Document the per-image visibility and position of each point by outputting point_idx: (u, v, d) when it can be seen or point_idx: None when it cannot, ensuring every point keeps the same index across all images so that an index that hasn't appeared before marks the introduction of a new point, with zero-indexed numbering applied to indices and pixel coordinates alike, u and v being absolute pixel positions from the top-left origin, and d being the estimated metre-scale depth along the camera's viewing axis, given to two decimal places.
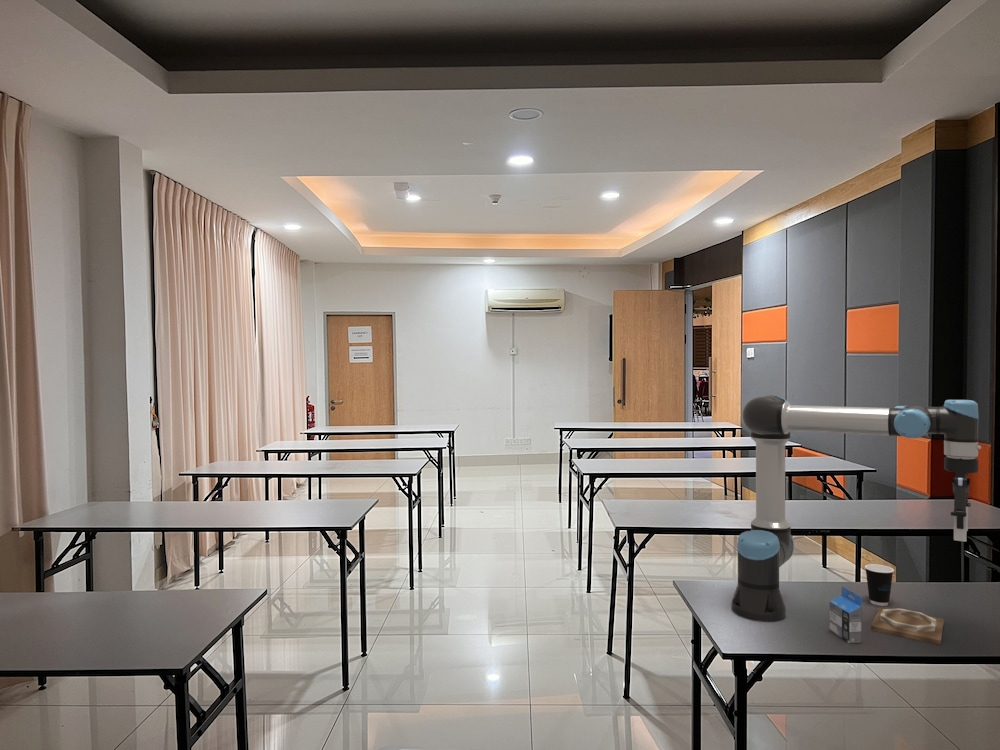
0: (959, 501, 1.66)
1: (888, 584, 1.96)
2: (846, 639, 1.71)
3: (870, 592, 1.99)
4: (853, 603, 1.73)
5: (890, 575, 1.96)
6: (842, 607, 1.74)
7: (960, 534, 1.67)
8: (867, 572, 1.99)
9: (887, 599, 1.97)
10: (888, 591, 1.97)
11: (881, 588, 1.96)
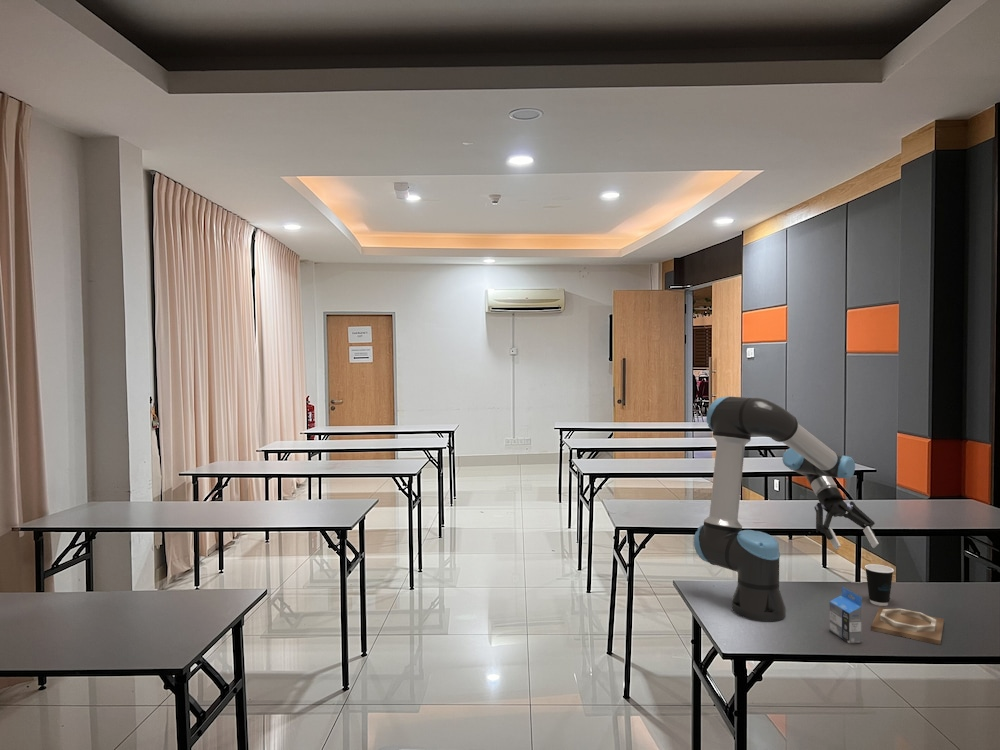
0: None
1: (888, 584, 1.96)
2: (846, 639, 1.71)
3: (870, 592, 1.99)
4: (853, 603, 1.73)
5: (890, 575, 1.96)
6: (842, 607, 1.74)
7: None
8: (867, 572, 1.99)
9: (887, 599, 1.97)
10: (888, 591, 1.97)
11: (881, 588, 1.96)
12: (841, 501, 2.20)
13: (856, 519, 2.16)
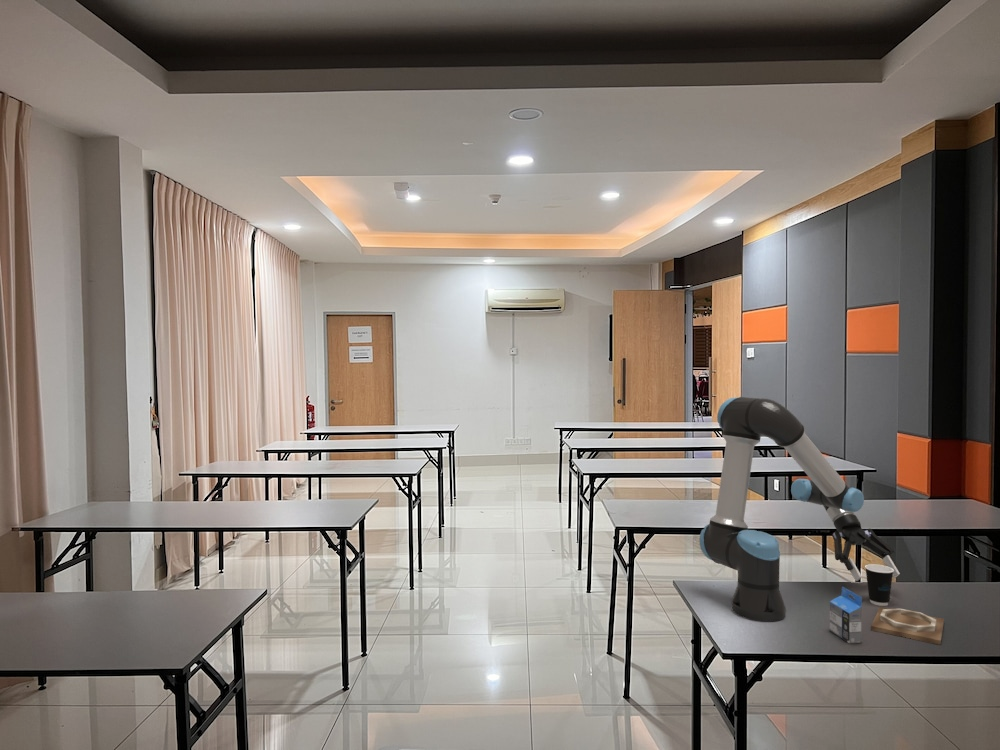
0: None
1: (888, 584, 1.96)
2: (846, 639, 1.71)
3: (870, 592, 1.99)
4: (853, 603, 1.73)
5: (890, 575, 1.96)
6: (842, 607, 1.74)
7: None
8: (867, 572, 1.99)
9: (887, 599, 1.97)
10: (888, 591, 1.97)
11: (881, 588, 1.96)
12: (859, 528, 2.13)
13: (875, 548, 2.09)
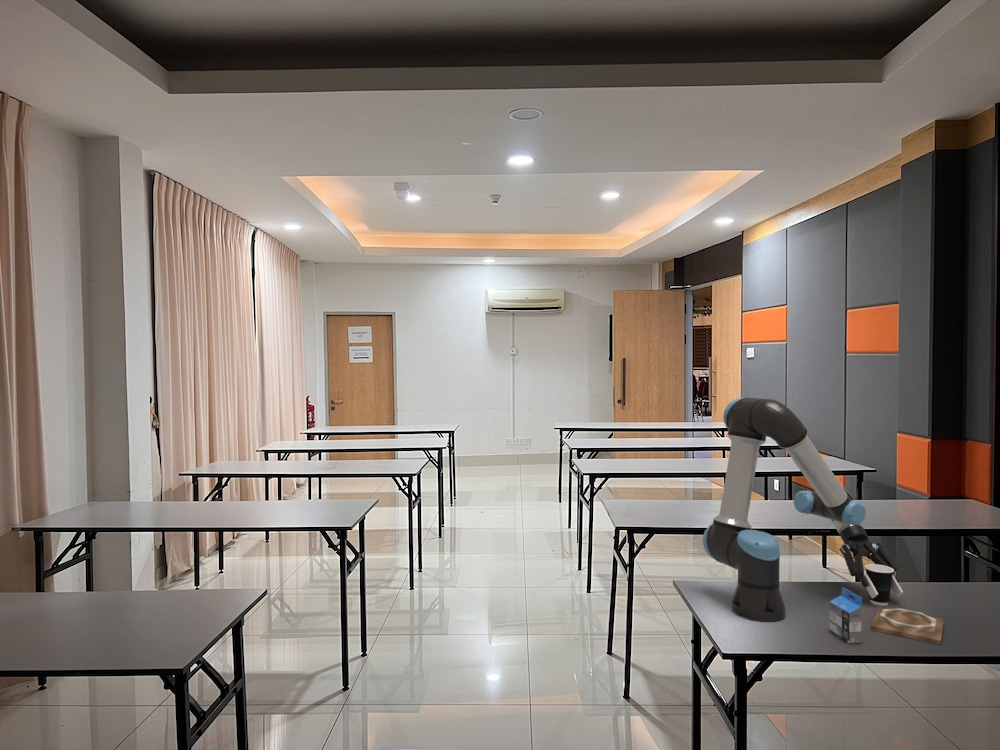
0: None
1: (888, 584, 1.96)
2: (846, 639, 1.71)
3: None
4: (853, 603, 1.73)
5: (890, 575, 1.96)
6: (842, 607, 1.74)
7: None
8: (867, 572, 1.99)
9: (887, 599, 1.97)
10: (888, 591, 1.97)
11: (881, 588, 1.96)
12: (867, 540, 2.08)
13: (879, 562, 2.03)
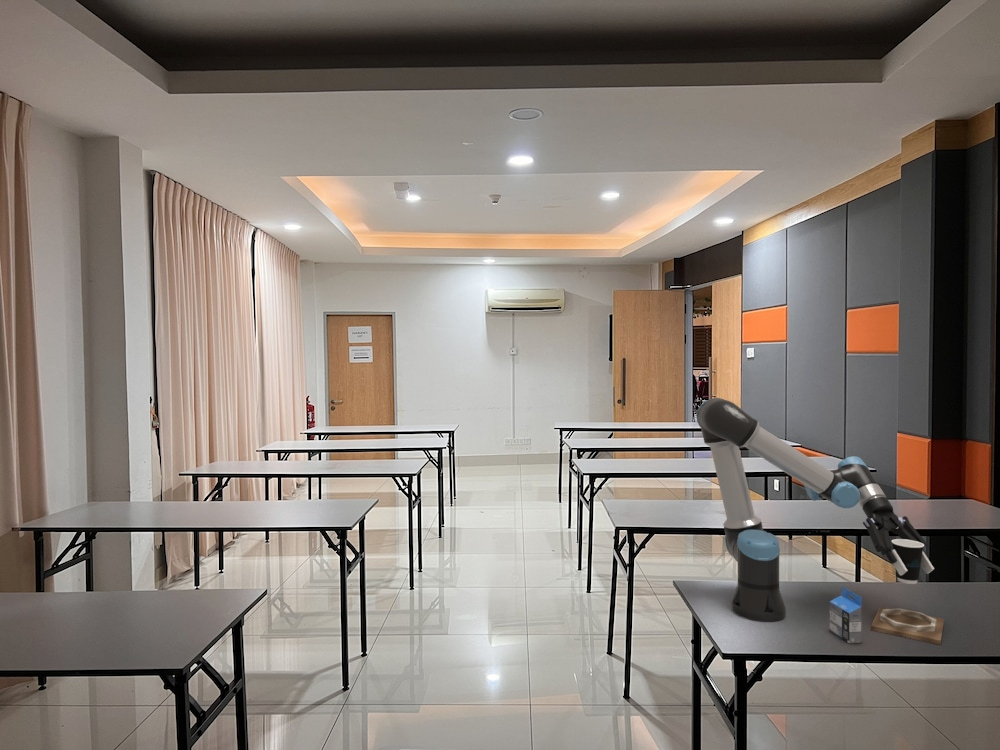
0: None
1: (918, 560, 1.79)
2: (846, 639, 1.71)
3: None
4: (853, 603, 1.73)
5: (920, 550, 1.78)
6: (842, 607, 1.74)
7: None
8: (894, 547, 1.82)
9: (917, 576, 1.79)
10: (918, 568, 1.79)
11: (910, 564, 1.79)
12: (892, 513, 1.91)
13: (907, 537, 1.86)
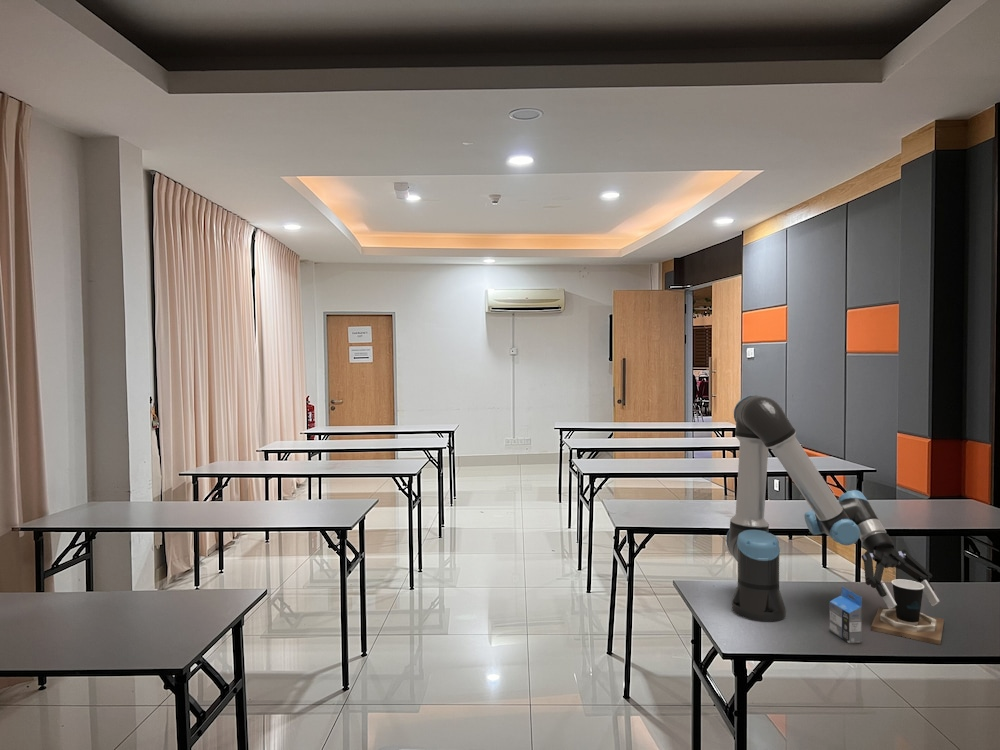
0: None
1: (918, 602, 1.78)
2: (846, 639, 1.71)
3: (898, 610, 1.81)
4: (853, 603, 1.73)
5: (920, 592, 1.78)
6: (842, 607, 1.74)
7: None
8: (894, 588, 1.81)
9: (917, 618, 1.79)
10: (918, 609, 1.78)
11: (910, 606, 1.78)
12: (892, 549, 1.90)
13: (911, 571, 1.86)
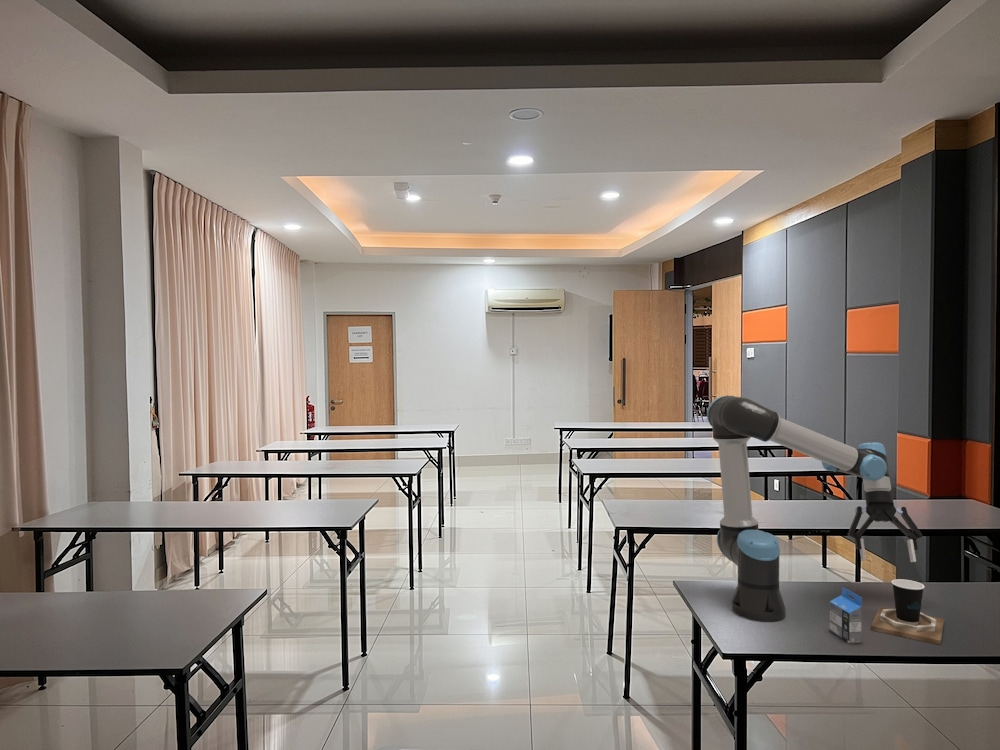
0: None
1: (918, 602, 1.78)
2: (846, 639, 1.71)
3: (898, 610, 1.81)
4: (853, 603, 1.73)
5: (920, 592, 1.78)
6: (842, 607, 1.74)
7: None
8: (895, 588, 1.81)
9: (917, 618, 1.79)
10: (918, 609, 1.78)
11: (910, 606, 1.78)
12: (890, 506, 2.00)
13: (901, 528, 1.97)
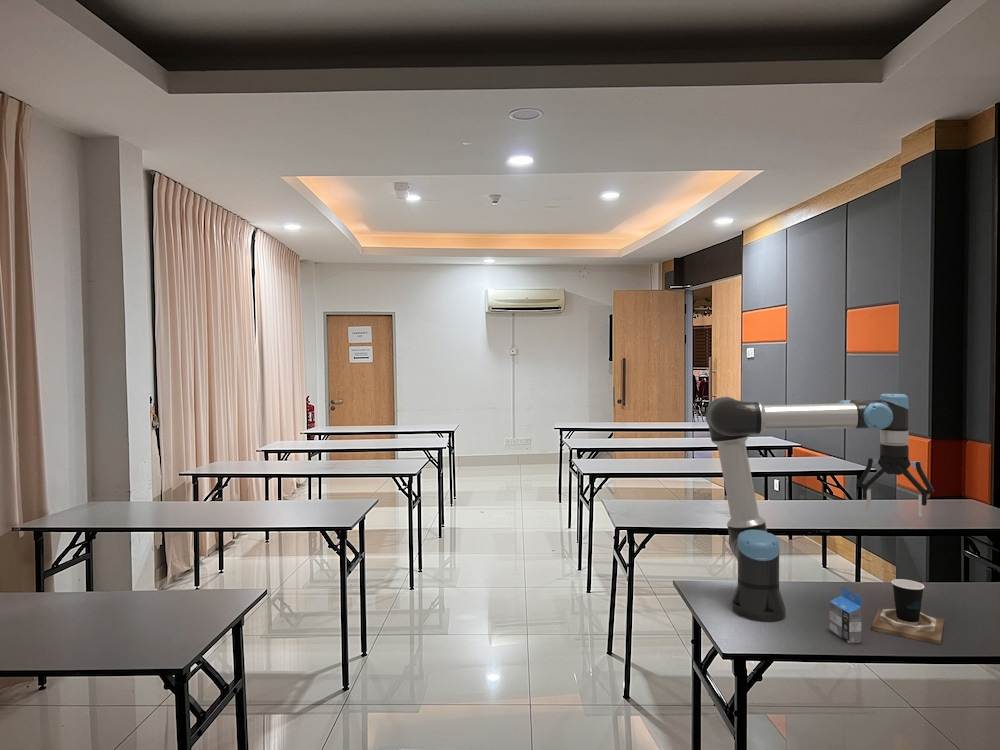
0: (928, 481, 1.91)
1: (918, 602, 1.78)
2: (846, 639, 1.71)
3: (898, 610, 1.81)
4: (853, 603, 1.73)
5: (920, 592, 1.78)
6: (842, 607, 1.74)
7: None
8: (895, 588, 1.81)
9: (917, 618, 1.79)
10: (918, 609, 1.78)
11: (910, 606, 1.78)
12: (903, 460, 1.94)
13: None
